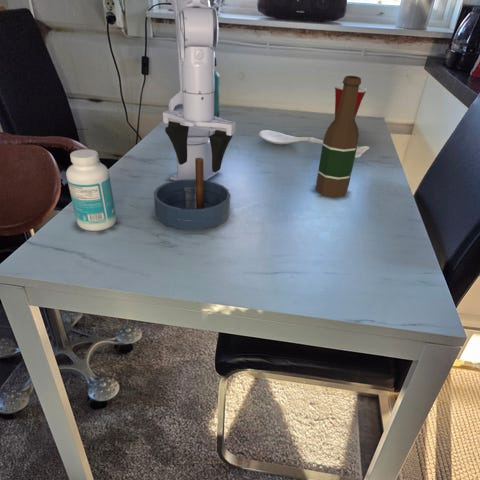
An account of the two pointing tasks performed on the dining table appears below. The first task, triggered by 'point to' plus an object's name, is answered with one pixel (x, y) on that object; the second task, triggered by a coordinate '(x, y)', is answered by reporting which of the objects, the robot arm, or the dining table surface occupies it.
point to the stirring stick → (199, 182)
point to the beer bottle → (340, 144)
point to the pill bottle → (91, 191)
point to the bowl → (191, 204)
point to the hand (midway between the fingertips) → (199, 166)
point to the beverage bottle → (216, 91)
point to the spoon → (297, 140)
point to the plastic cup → (339, 91)
